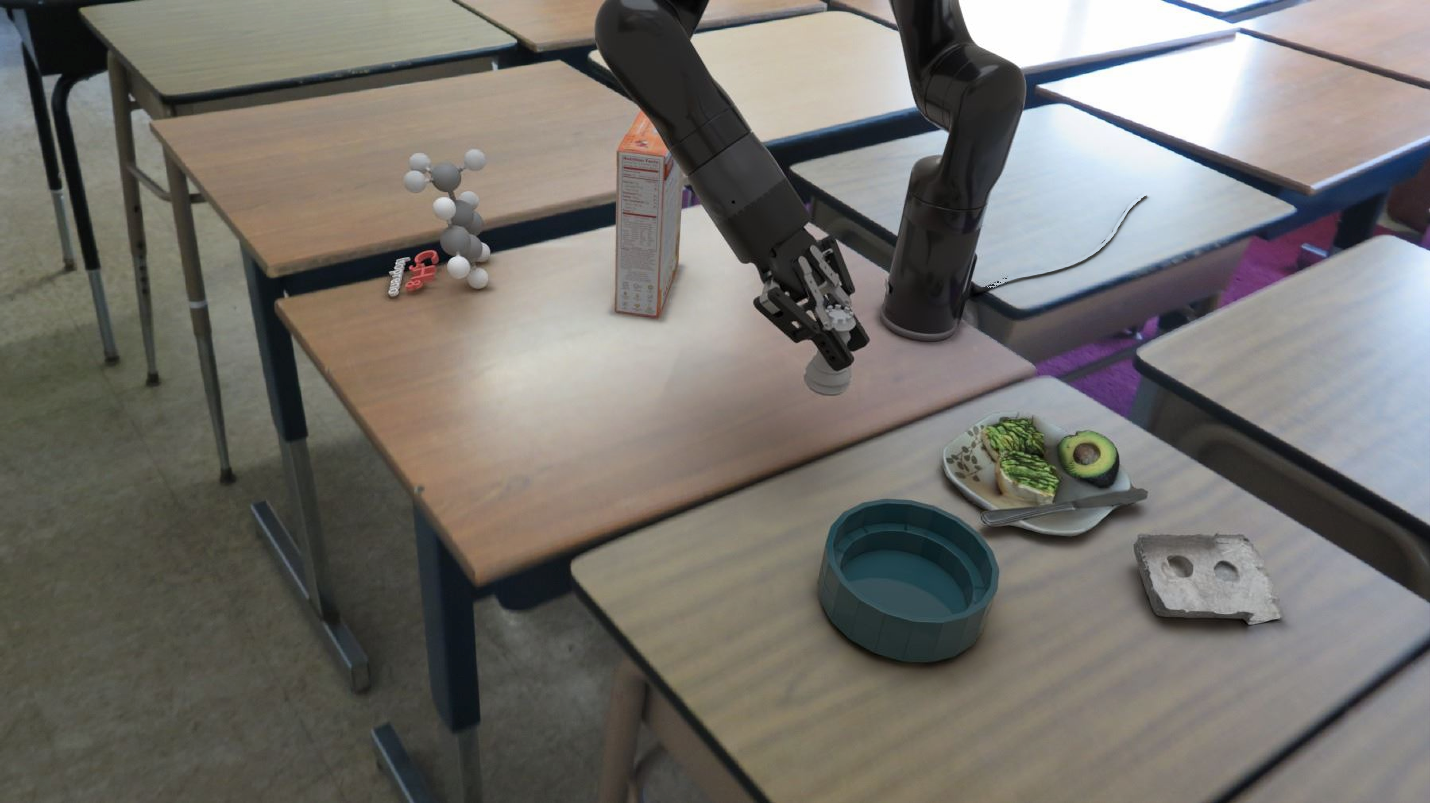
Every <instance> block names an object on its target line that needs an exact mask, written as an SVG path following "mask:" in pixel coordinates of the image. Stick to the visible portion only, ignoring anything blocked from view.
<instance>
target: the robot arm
mask: <svg viewBox="0 0 1430 803" xmlns="http://www.w3.org/2000/svg"><path fill="white" fill-rule="evenodd" d="M710 1H711V0H604V1H603V2H602V3H601V5H600V7H599V9H598V11H597V13H596V16H595V20H594V31H593V32H594V40H595V45H596V48H597V51H598V53H599V54H600V56H601V59H602V60H603V62H604V63H605V64H606V67H607V68H608V69H609V71H610V72H611V73H612V75H613V76H614V77H615V79H616V80H617V82H618V83H619V84H620V85H621V87H622V88H623V89H624V91H625V92H626V93H627V95H628V96H629V97H630V98H631V100H632V101H633V102H634V103H635V105H636V106H637V107H638V108H639V110H640V109H641V110H642V112H643V113H644V114H645V115H646V116H647V117H648V118H649V120H650V121H651V122H652V124H653V125H654V127H655V128H656V130H657V132H658V133H659V135H660V137H661V139H662V141H663V142H664V144H665V146H666V147H667V149H668V151H670V153H671V155H672V156H673V158H674V159H675V161H676V162H677V164H678V165H679V167H680V168H681V170H682V171H683V173H684V175H685V177H686V179H687V181H688V182H689V184H690V186H691V188H692V190H693V192H694V194H695V196H696V198H697V200H698V202H699V203H700V205H701V206H702V208H703V209H704V211H705V213H707V216H708V217H709V218H710V220H711V221H712V222H713V224H714V226H715V228H717V230H718V232H719V233H720V235H721V236H722V238H723V239H724V241H725V242H726V243H727V245H728V246H729V248H730V250H731V251H732V252H733V254H734V255H735V257H736V259H737V260H738V261H739V262H740V263H741V264H743V265H748V264H753V265H754V266H755V268H756V270H757V273H758V275H759V278H760V281H761V282H762V284H763V288H762V289H763V290H762V292H761V294H760V295H758V296H756V297H755V298H754V299H753V300H752V301H753V302H752V303H753V306H754V308H755V310H757V311H758V312H759V313H760V314H761V315H762V316H763V317H765V318H766V319H767V320H768V321H769V322H770V323H771V324H772V325H774V326H775V327H776V328H777V329H778V330H779V331H781V333H783V334H784V335H785V336H786V337H788V338H789V340H791V341H792V342H793V343H794V344H799V343H801V342H804V341H811V342H812V343H813V344H814V346H815V347H816V349H817V351H818V350H819V351H820V353H821V354H822V356H823V357H824V359H825V360H826V362H827V363H828V365H829V366H830V367H831V368H832V369H833V370H834V371H840V370H842V369H845V368H847V367H850V366H852V364H853V363H854V362H855V356H854V355H853V353H855V352H857V351H859V350H861V349H864V348H866V347H867V345H868V344H869V343H870V341H871V338H870V336H869V335H868V333H867V331H866V329H865V328H864V326H863V325H862V323H861V322H860V320H859V319H858V317H857V316H856V314H855V312H854V311H853V310H852V308H851V307H852V305H853V302H852V299H851V295H853V294H855V293H856V288H855V284H854V282H853V280H852V277H851V275H850V272H849V269H848V267H847V265H846V262H845V259H844V256H843V254H842V251H841V249H840V246H839V243H838V242H837V239H836V237H835V236H834V235H833V234H828V235H827V236H825V237H823V238H820V239H816V238H815V236H814V235H813V234H811V233H810V232H809V231H808V230H807V229H806V228H805V227H806V226H807V225H808V224H809V223H810V221H811V218H812V217H811V213H810V211H809V210H808V208H807V207H806V205H805V204H804V202H803V200H802V199H801V197H800V196H799V195H798V193H797V191H796V190H795V189H794V186H793V185H792V183H791V182H790V181H789V179H788V177H787V176H786V175H785V173H784V172H783V170H782V168H781V167H780V165H779V164H778V162H777V160H776V159H775V158H774V156H773V154H772V153H771V152H770V151H769V149H768V148H767V147H766V145H764V143H763V142H762V141H761V140H760V139H759V137H758V136H757V134H755V132H754V131H753V130H752V128H751V126H750V125H749V123H748V121H747V120H746V118H745V117H744V115H743V113H742V112H741V111H740V109H739V108H738V106H737V105H736V103H735V102H734V100H733V99H732V98H731V96H730V95H729V94H728V92H727V91H726V90H725V88H724V87H722V85H721V84H720V83H719V82H718V81H717V80H716V79H715V78H714V77H713V75H712V74H711V72H710V71H709V69H708V68H707V66H706V64H705V62H704V61H703V59H702V57H701V56H700V54H699V53H698V51H697V49H696V47H695V45H694V44H693V42H692V41H691V40H692V39H693V36H694V34H695V33H696V30H697V28H698V26H699V24H700V22H701V21H702V18H703V16H704V14H705V12H706V10H707V7H708V5H709V3H710ZM887 1H888V4H889V6H890V9H891V12H892V15H893V18H894V20H895V24H896V26H897V29H898V33H899V37H900V38H899V39H900V42H901V47H902V52H903V57H904V61H905V66H906V71H907V76H908V82H909V86H910V90H911V95H912V98H913V101H914V104H915V106H916V108H917V110H918V111H919V112H920V114H921V115H922V117H924V119H926V120H927V122H929V123H931V124H932V125H934V126H935V127H937V128H939V129H940V130H942V131H944V132H945V133H947V134H948V135H947V139H946V141H945V142H946V143H945V145H944V149H943V153H942V154H935V155H933V154H932V155H928V156H924V157H922V158H919V159H918V160H917V161H915V163H914V164H913V166H912V167H911V171H910V174H909V179H908V184H907V189H906V194H905V199H904V202H903V208H902V213H901V218H900V222H899V226H898V232H897V237H896V241H895V246H894V251H893V255H892V260H891V265H890V269H889V275H888V278H887V277H885V281H884V288H885V293H884V296H883V297H884V298H883V303H882V304H881V308H880V312H879V317H880V320H881V322H882V324H883V325H884V326H885V327H887V328H888V329H889V330H890V331H892V332H894V333H896V334H897V335H899V336H901V337H905V338H907V339H911V340H916V341H924V342H925V341H926V342H936V341H942V340H945V339H948V338H949V337H951V336H952V335H954V333H955V332H956V329H957V325H959V324H961V322H962V318H963V314H964V310H965V306H966V303H967V302H968V300H969V297H970V294H971V293H973V294H983V293H986V292H989V291H992V290H993V289H996V288H995V287H994V288H993V287H991V288H990V287H989V286H995V285H994V284H992V283H990V284H987V285H985V287H984V286H980V287H976V285H975V283H974V282H973V281H972V280H973V276H974V273H975V269H976V265H977V262H978V254H977V253H976V251H977V247H978V243H979V240H980V236H981V232H982V228H983V224H984V220H985V216H986V212H987V209H988V205H989V201H990V197H991V193H992V192H993V189H994V187H995V186H996V184H997V183H998V181H999V180H1000V178H1001V176H1002V175H1003V173H1004V170H1005V168H1006V164H1007V162H1008V160H1009V156H1010V153H1011V150H1012V147H1013V143H1014V140H1015V137H1016V134H1017V131H1018V128H1019V125H1020V122H1021V118H1022V115H1023V112H1024V108H1025V103H1026V96H1027V83H1026V82H1027V81H1026V77H1025V74H1024V72H1023V71H1022V69H1021V68H1020V67H1019V66H1018V65H1017V64H1016V63H1014V62H1012V61H1011V60H1009V59H1006V58H1005V57H1003V56H1000V55H999V54H996V53H994V52H992V51H990V50H988V49H986V48H983V47H981V46H979V45H978V44H977V43H976V42H975V41H974V39H973V38H972V36H971V34H970V32H969V30H968V27H967V24H966V21H965V18H964V15H963V11H962V7H961V4H960V0H887ZM1004 278H1005V277H1003V278H1002V279H1004ZM1005 279H1007V278H1005ZM996 281H997V283H999V281H998V280H996ZM996 281H994V282H993V283H996ZM1000 283H1001V282H1000ZM840 284H841V285H840ZM991 284H992V285H991ZM1005 284H1007V283H1006V282H1005ZM987 286H988V287H989V288H988V287H987ZM996 286H997V285H996ZM1000 286H1001V285H999V286H998V287H1000ZM976 288H977V290H976ZM804 300H807V301H806V302H805V303H802V304H800V305H799V304H798V303H800V302H802V301H804ZM830 305H831V306H832V307H833V308H832V309H835V305H841V308H840V309H841V310H844V308H845V307H848V308H850V312H853V318H854V320H855V322H856V325H855V326H854V328H853V329H851V330H850V331H849V334H850V337H851V338H850V340H849V341H848V342H847V346H846V344H845V343H844V341H843V340H842V338H841V337H840V335H839V334H838V332H837V331H836V329H835V328H834V327H833V328H832V325H831V322H830V320H829V318H828V316H827V314H826V312H825V310H827V307H828V306H830ZM808 311H810V312H811V313H812V315H813V317H814V318H813V317H812V316H811V315H809V314H808V313H807V312H808ZM794 322H796V324H797V326H798V327H797V326H796V325H795V324H794Z"/></svg>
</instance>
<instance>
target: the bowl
mask: <svg viewBox="0 0 1430 803" xmlns="http://www.w3.org/2000/svg"><path fill="white" fill-rule="evenodd" d="M999 579H1000V568H999V564H998V562H997V559H996V556H995V553H994V550H993V549H992V548H991V547H990V546H989V544H988V543H987V542H986V540H985V539H984V537H982V535H981V534H980V533H979V532H978V531H977V530H976V529H974V528H973V527H972V526H971V525H969V524H968V523H967V522H966V521H964V520H963V519H961V517H959V516H958V515H955V514H952V513H951V512H948V511H946V510H944V509H942V508H940V507H938V506H935V505H933V504H928V503H925V502H921V501H916V500H913V499H900V498H899V499H898V498H882V499H876V500H875V499H874V500H871V501H864V502H861V503H859V504H857V505H855V506H853V507H851V508H849V509H847V510H845V511H843V512H842V513H841V514H840V515H839V516H838V517H837V518H836V520H835V521H834V522H833V523H832V524H831V525H830V527H829V531H828V534H827V537H826V540H825V544H824V549H823V554H822V558H821V563H820V568H819V574H818V578H817V589H818V595H819V600H820V601H819V602H820V604H821V605H822V608H823V609H824V611H825V613H826V614H827V616H828V618H829V620H830V621H831V623H832V625H834V626H835V627H836V628H837V629H838V630H839V631H841V632H842V633H843V635H845V636H846V637H847V638H848V639H849V640H851V641H852V642H854V643H856V644H857V645H859V646H861V647H863V648H864V649H866V650H868V651H870V652H871V653H874V654H877V655H880V656H884V657H886V658H891V659H894V660H897V661H902V662H908V663H909V662H911V663H933V662H938V661H943V660H946V659H950V658H954V657H956V656H958V655H959V654H961V653H963V652H964V651H965V650H967V649H968V648H970V647H972V646H973V645H974V644H975V643H976V641H977V639H978V638H979V636H980V635H981V633H982V631H983V630H984V629H985V626H986V622H987V620H988V618H989V614H990V612H991V609H992V606H993V604H994V602H995V598H996V595H997V592H998V589H999Z"/></svg>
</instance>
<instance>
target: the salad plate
mask: <svg viewBox="0 0 1430 803" xmlns="http://www.w3.org/2000/svg"><path fill="white" fill-rule="evenodd" d="M1117 448H1118V447H1116V446H1115V444H1114V442H1113V441H1112V440H1110V439H1109V438H1108V437H1106V436H1105V435H1103V434H1102V433H1100V432H1097V431H1094V430H1090V429H1089V430H1087V429H1085V430H1082V431H1081V430H1076V431H1075V433H1074V434H1071V433H1070V432H1068V431H1067V430H1065V429H1063V428H1061V427H1059V426H1057V425H1056V424H1055V423H1053V422H1051V421H1049V420H1047V419H1045V418H1042V417H1040V416H1038V415H1035V414H1032V413H1029V412H1022V411H1021V412H1020V411H999V412H993V413H992V414H990V415H988V416H986V417H983V419H981V420H979V421H978V422H977V423H975V424H974V425H973V426H971V427H969V429H967V430H965V431H964V432H963V433H961V434H960V435H957V436H956V437H955V438H954V439H953V440H951V441H950V442H949V443H948V444H947V445H946V446H945V447H944V449H943V451H942V457H941V464H942V468H943V470H944V474H945V476H946V477H947V479H948V480H949V481H950V483H952V484H953V485H954V486H955V487H956V489H958V491H959V492H960V493H961V495H963V496H964V497H965V498H966V499H967V500H968V501H969V502H970V503H972V504H973V505H976V506H977V507H979V508H981V509H983V510H984V511H982V512H981V514H980V520H981V522H982V523H983V524H984V525H986V526H989V527H1004V526H1012V527H1016V528H1021V529H1025V530H1027V531H1032V532H1035V533H1038V534H1043V535H1050V536H1063V537H1075V536H1078V535H1082V534H1084V533H1086V532H1087V531H1090V530H1092V529H1093V528H1094V527H1096V526H1097V525H1099V524H1100V523H1101V521H1102V520H1103V519H1105V518H1106V517H1107V515H1109V514H1110V513H1112V511H1114V510H1116V509H1118V508H1121V507H1125V506H1130V505H1132V504H1136V503H1138V502H1141V501H1144V500H1147V499H1148V494H1149V491H1148V490H1146V489H1144V488H1143V487H1142V488H1137V487H1134V486H1133V483H1132V482H1131V478H1130V476H1129V473H1128V472H1127V470H1126V469H1125V468H1124V466H1123V465H1122V464H1121V461H1120V454H1119V450H1118V449H1117Z"/></svg>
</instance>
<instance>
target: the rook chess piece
mask: <svg viewBox="0 0 1430 803" xmlns="http://www.w3.org/2000/svg"><path fill="white" fill-rule="evenodd" d="M832 308H833V307H832V306H831V305H830V306H828V307H827V310H825V312H826V314H827V316H828V318H829V320H830V322H831V325H832V328H833V327H834V328H835V329H836V331H837V332H838V334H839V335H840V337H841V338H842V340H843V341H844V343H845V344H846V346H847V342H848V341H849V340H850V338H851V337H850V334H849V331H850V330H851V329H853V328H854V326H855V325H856V322H855V320H854V318H853V313H854V311H853V312H850V308H851V307H850V308H848V307H845V308H844V310H841V309H840V308H841V305H835V309H832ZM851 379H852V371H851V367H850V366H849V367H847V368H845V369H842V370H840V371H834V370H833V369H832V368H831V367H830V366H829V365H828V363H827V362H826V360H825V359H824V357H823V356H822V354H821V353H820V351H819V350H818V349H817V352H816V354H815V355H813V357H812V358H811V360H809V362H808V363H807V365H806V366H805V373H804V374H803V381H804V383H805V384H806V386H807V387H808V389H809V390H810V391H812V392H813V393H815V394H817V395H820V396H824V397H835V396H840V395H841V394H843V393H845V392H846V391H847V390H849V388H850V387H851V384H852V383H851Z"/></svg>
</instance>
